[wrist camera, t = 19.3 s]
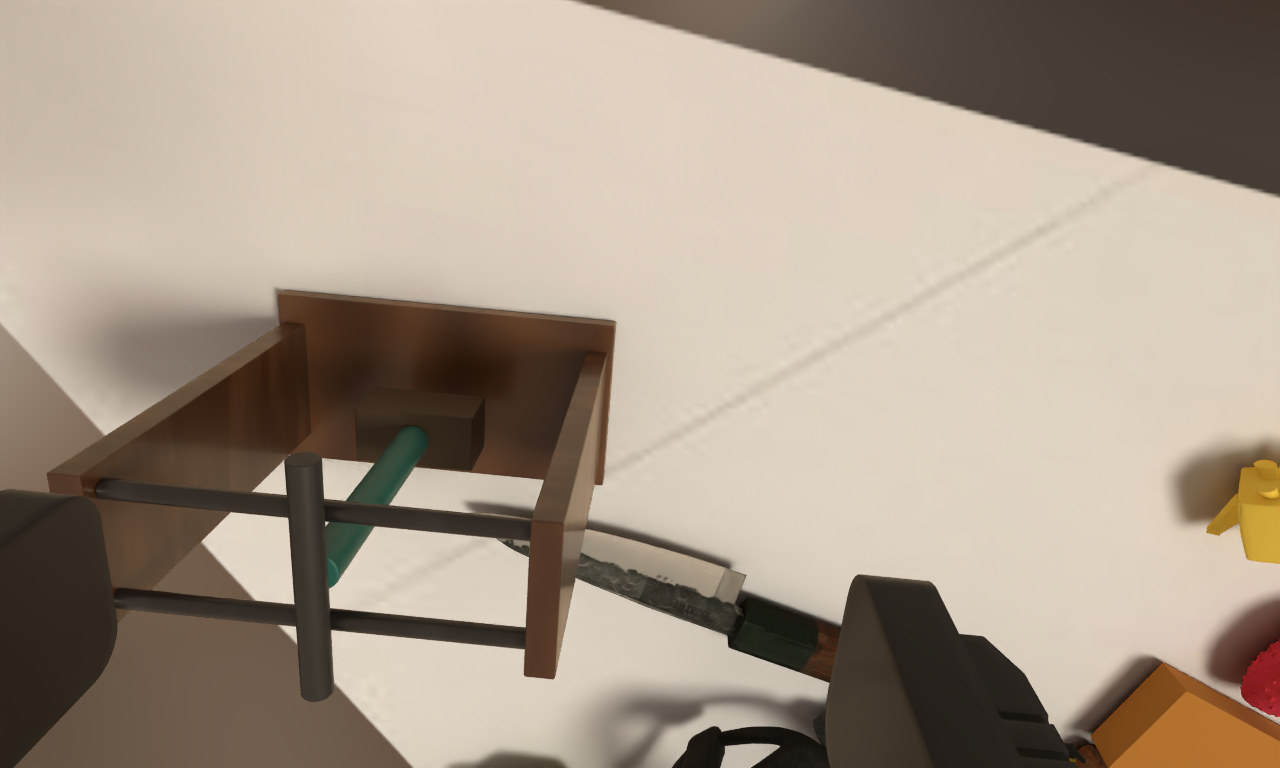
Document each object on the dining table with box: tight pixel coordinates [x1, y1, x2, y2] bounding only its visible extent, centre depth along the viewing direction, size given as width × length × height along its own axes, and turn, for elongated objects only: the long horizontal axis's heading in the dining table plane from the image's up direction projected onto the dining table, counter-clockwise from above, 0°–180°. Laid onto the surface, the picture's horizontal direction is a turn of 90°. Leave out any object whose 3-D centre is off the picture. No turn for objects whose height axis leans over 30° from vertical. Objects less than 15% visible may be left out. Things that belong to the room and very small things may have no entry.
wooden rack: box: [47, 290, 616, 679], centre depth 40 cm, size 19×10×20 cm, turn 85°
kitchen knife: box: [472, 513, 841, 683], centre depth 52 cm, size 36×2×5 cm
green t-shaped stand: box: [284, 387, 485, 702], centre depth 38 cm, size 6×10×16 cm, turn 175°
